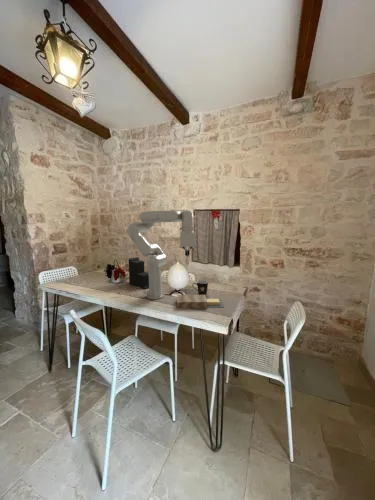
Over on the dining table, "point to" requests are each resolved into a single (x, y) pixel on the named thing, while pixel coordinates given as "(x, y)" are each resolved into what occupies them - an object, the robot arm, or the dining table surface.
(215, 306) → the mat
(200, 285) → the coffee mug
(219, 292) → the dining table surface
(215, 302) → the yellow flat block
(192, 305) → the brown flat block
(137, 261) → the bookend
